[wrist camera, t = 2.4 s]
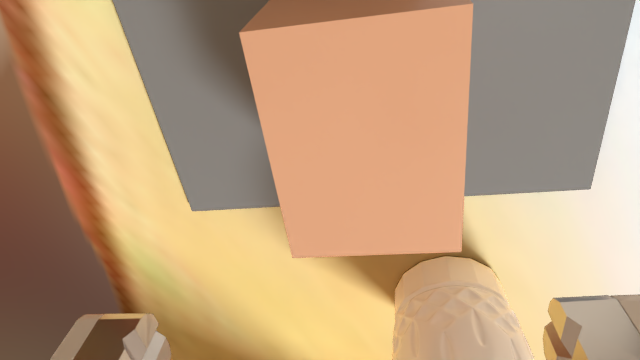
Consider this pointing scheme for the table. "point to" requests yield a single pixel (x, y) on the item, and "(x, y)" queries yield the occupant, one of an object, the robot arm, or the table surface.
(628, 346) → the robot arm
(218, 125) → the mat
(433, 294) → the white cup
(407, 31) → the salmon rectangular box
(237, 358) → the table surface
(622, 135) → the table surface
